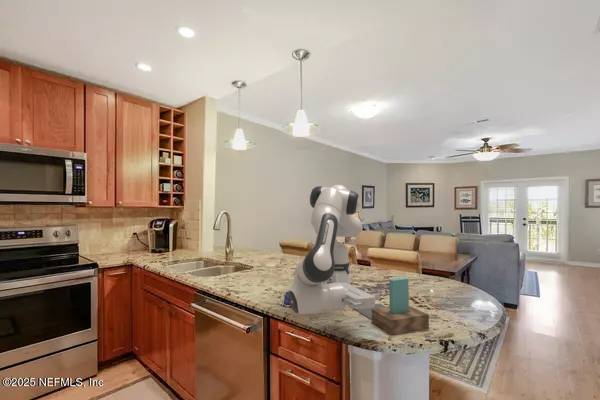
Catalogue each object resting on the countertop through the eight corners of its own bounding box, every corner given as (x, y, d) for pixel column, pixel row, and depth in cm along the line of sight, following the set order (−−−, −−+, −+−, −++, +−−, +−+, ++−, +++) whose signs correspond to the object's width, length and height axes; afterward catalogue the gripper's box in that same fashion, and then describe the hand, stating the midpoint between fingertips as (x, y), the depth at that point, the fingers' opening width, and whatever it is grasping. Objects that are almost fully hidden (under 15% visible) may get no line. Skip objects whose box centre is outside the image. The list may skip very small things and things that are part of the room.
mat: (371, 320, 112) (371, 319, 112) (352, 308, 125) (352, 307, 125) (400, 315, 117) (400, 314, 117) (380, 304, 130) (380, 303, 130)
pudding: (310, 305, 131) (309, 293, 131) (286, 310, 125) (286, 297, 125) (296, 298, 141) (296, 287, 141) (274, 302, 135) (274, 291, 135)
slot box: (391, 335, 99) (391, 320, 99) (371, 322, 110) (371, 309, 110) (428, 328, 104) (428, 314, 104) (406, 316, 115) (405, 304, 115)
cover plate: (393, 327, 105) (392, 280, 105) (389, 325, 107) (389, 279, 107) (409, 325, 107) (408, 278, 108) (405, 323, 109) (404, 277, 110)
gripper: (351, 295, 89) (389, 291, 93) (323, 280, 108) (356, 277, 113) (351, 316, 88) (389, 310, 93) (323, 297, 108) (356, 294, 112)
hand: (371, 292), depth 103 cm, fingers open, 8 cm apart
